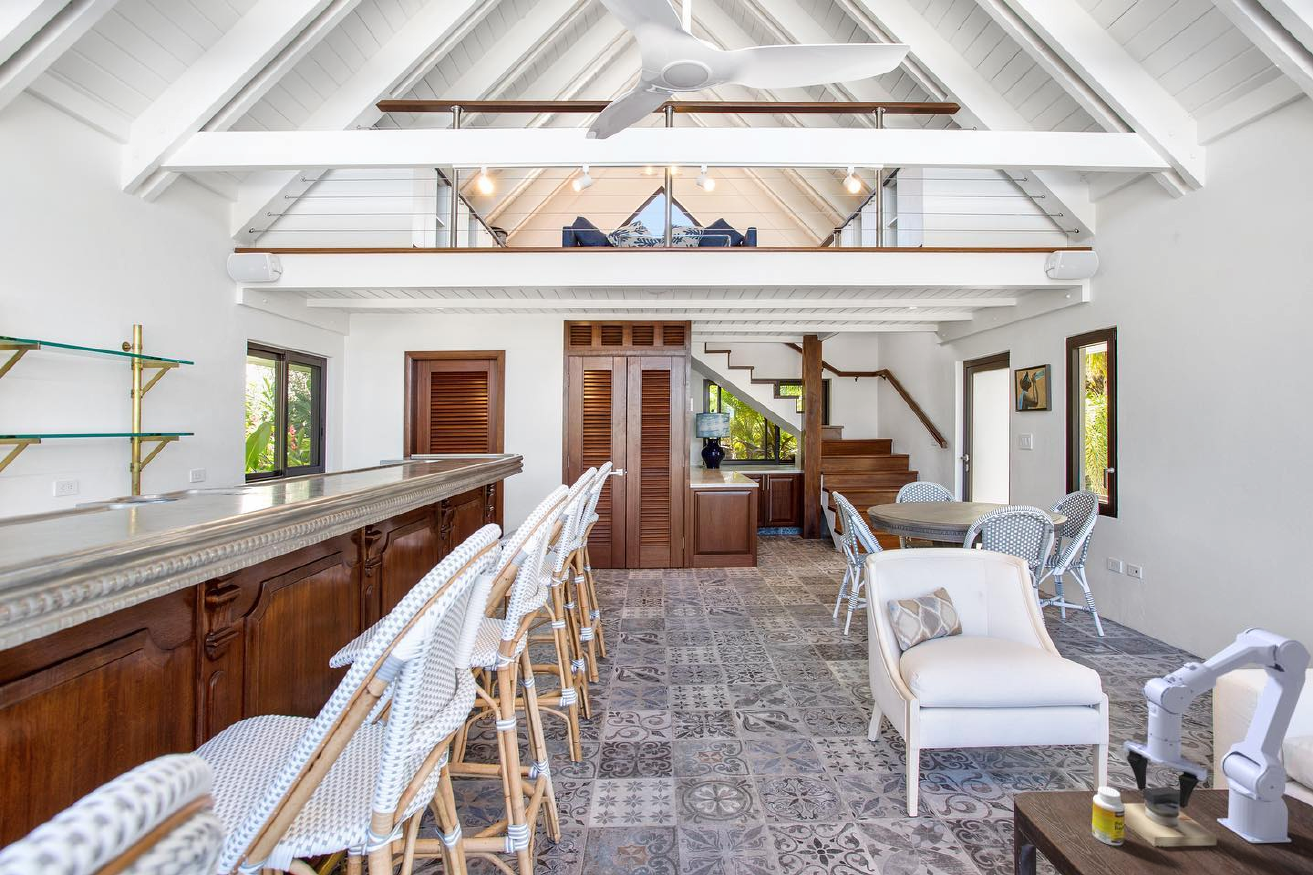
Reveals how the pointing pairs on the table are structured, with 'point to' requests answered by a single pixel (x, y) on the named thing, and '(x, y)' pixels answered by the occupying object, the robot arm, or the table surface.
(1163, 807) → the rotary knob
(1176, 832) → the cream base plate
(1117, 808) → the supplement bottle
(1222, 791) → the table surface
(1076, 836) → the table surface
